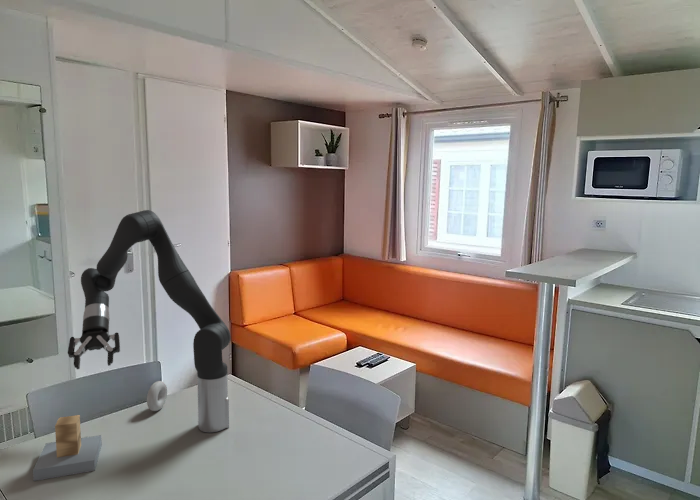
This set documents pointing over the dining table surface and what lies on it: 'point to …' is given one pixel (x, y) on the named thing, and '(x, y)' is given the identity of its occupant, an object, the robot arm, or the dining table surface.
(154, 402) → the donut
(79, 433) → the block
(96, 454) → the plinth
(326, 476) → the dining table surface
